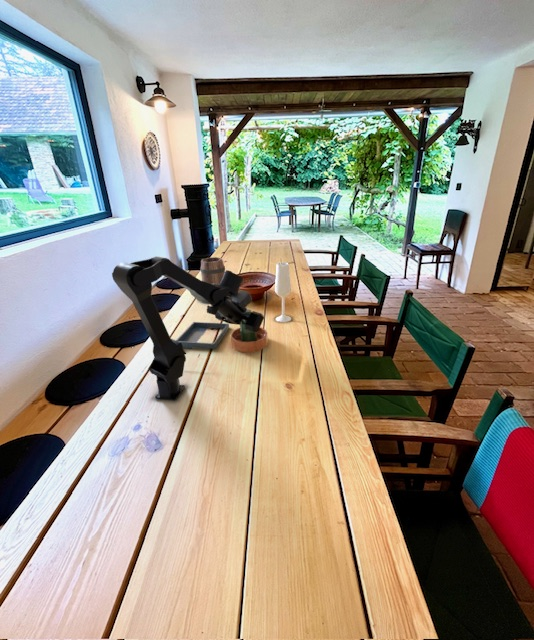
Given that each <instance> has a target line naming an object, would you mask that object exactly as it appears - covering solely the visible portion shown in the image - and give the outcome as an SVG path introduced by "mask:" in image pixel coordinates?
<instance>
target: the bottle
mask: <svg viewBox="0 0 534 640" xmlns="http://www.w3.org/2000/svg"><path fill="white" fill-rule="evenodd" d="M251 312H252V310H251V309H250V308H247V310H246V312H244V313H247V314H249V313H251ZM245 323H246V321H245V320H242V322H240V325H239V328H240V334H241V342H252V341H257V332H253V331H250V330H247V329H245Z"/></svg>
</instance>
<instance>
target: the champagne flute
mask: <svg viewBox="0 0 534 640" xmlns="http://www.w3.org/2000/svg"><path fill="white" fill-rule="evenodd" d="M275 266H276V268H275V283H274V292H275V294H276V295H277V296H278V297H279V298H281V315H279V316H277V317H275V321H276V322H281V323H288V322H291V321H292V317H290V316H289V315H286V308H285V307H286V304H285V303H286V302H285V301H286V300H285V299H286V298H287V297H288V296H289V295H290V294H291V292H292V285H291V276H290V265H289V263H288V262H277V263H276V265H275Z"/></svg>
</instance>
